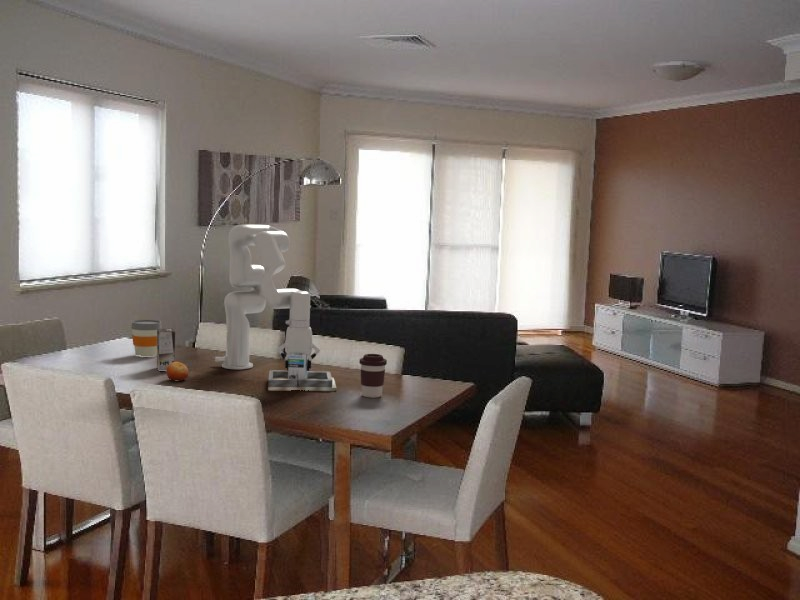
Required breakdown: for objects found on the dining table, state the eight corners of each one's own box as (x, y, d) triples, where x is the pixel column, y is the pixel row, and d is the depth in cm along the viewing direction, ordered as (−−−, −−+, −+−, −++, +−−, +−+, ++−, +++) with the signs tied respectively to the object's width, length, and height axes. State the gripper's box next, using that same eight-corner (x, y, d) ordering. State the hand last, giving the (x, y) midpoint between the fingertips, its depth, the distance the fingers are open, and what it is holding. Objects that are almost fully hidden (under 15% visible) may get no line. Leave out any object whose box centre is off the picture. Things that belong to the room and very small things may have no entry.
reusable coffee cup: (126, 357, 345) (127, 323, 343) (137, 352, 357) (137, 319, 355) (155, 359, 344) (156, 324, 343) (165, 354, 357) (165, 320, 355)
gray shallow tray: (268, 390, 296) (268, 380, 296) (269, 379, 314) (269, 370, 314) (336, 390, 300) (336, 381, 300) (333, 380, 318) (333, 371, 317)
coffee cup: (361, 399, 289) (363, 358, 287) (355, 392, 298) (356, 352, 297) (388, 398, 292) (390, 357, 290) (381, 392, 301) (383, 352, 299)
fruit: (174, 372, 312) (181, 356, 310) (186, 385, 310) (194, 369, 307) (157, 376, 306) (165, 359, 303) (170, 389, 303) (178, 373, 300)
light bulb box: (305, 383, 302) (306, 355, 300) (287, 382, 301) (288, 354, 300) (307, 377, 312) (308, 349, 311) (290, 376, 312) (290, 349, 311)
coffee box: (175, 371, 322) (175, 331, 320) (158, 372, 319) (158, 331, 318) (172, 366, 330) (173, 328, 328) (156, 367, 328) (156, 328, 326)
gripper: (275, 324, 299) (274, 371, 301) (323, 326, 302) (321, 372, 304) (276, 321, 307) (275, 367, 309) (322, 323, 309) (320, 368, 311)
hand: (298, 369), depth 306 cm, fingers closed on light bulb box, 7 cm apart
